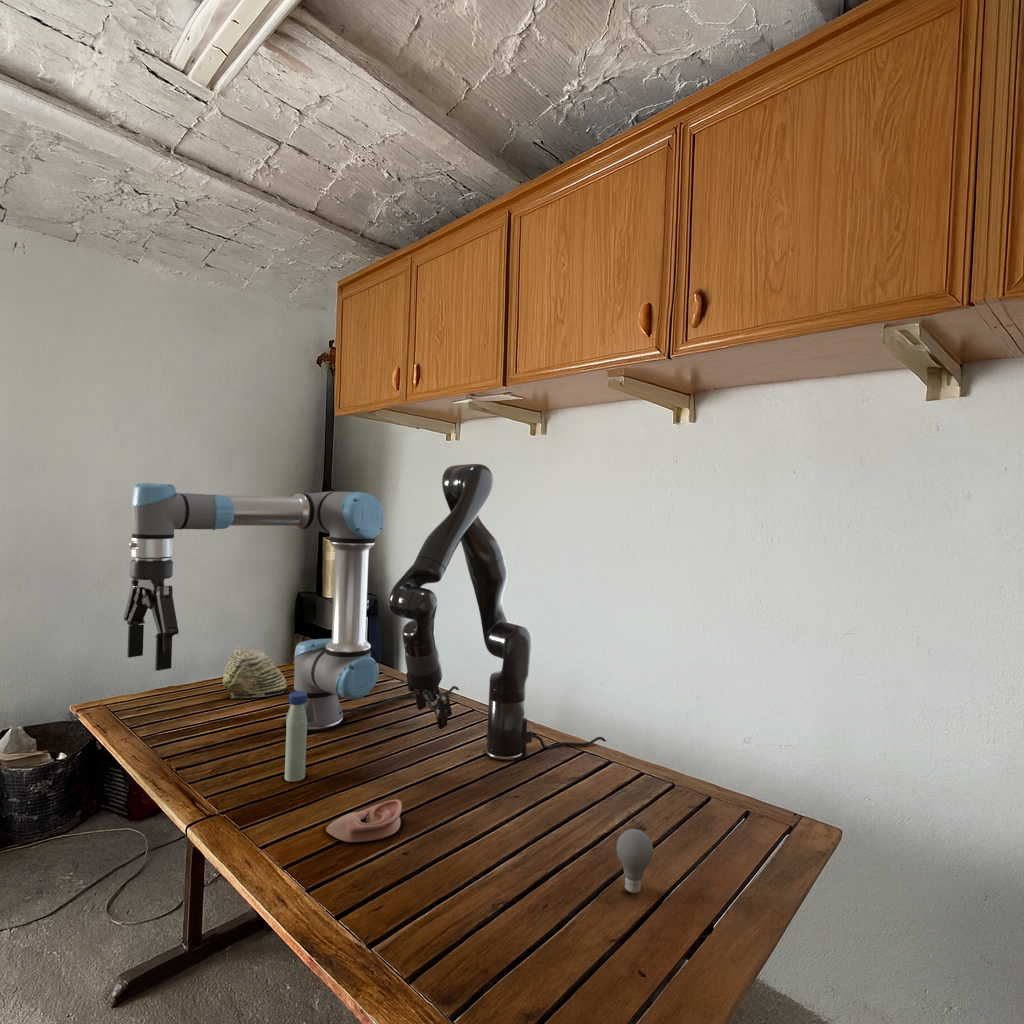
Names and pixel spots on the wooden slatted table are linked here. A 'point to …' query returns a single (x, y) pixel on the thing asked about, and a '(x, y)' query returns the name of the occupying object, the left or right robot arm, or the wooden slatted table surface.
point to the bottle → (296, 744)
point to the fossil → (252, 674)
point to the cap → (297, 698)
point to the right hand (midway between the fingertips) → (432, 717)
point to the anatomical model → (368, 823)
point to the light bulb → (634, 857)
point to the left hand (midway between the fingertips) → (148, 662)
